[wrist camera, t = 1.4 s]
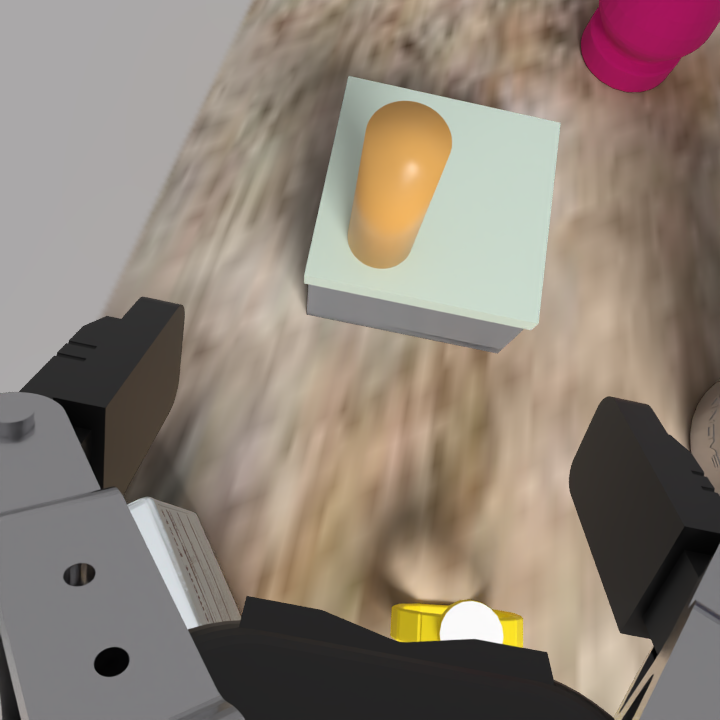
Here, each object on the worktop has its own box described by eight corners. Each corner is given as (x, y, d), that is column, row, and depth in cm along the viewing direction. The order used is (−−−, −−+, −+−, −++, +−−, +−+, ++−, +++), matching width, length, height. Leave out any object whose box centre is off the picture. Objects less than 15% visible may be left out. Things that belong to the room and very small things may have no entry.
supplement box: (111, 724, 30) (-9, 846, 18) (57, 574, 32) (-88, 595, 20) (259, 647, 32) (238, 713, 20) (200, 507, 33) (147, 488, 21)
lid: (547, 142, 36) (639, -1, 27) (525, 335, 33) (620, 251, 23) (345, 98, 36) (365, -64, 26) (303, 289, 33) (307, 184, 23)
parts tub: (518, 184, 40) (549, 136, 35) (497, 353, 37) (527, 325, 32) (343, 146, 40) (349, 92, 35) (306, 314, 37) (308, 280, 32)
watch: (385, 644, 33) (394, 666, 27) (388, 586, 34) (398, 595, 28) (505, 653, 33) (539, 676, 27) (505, 594, 34) (538, 605, 28)
